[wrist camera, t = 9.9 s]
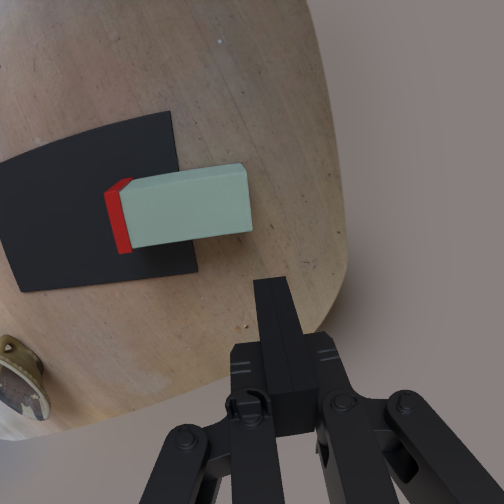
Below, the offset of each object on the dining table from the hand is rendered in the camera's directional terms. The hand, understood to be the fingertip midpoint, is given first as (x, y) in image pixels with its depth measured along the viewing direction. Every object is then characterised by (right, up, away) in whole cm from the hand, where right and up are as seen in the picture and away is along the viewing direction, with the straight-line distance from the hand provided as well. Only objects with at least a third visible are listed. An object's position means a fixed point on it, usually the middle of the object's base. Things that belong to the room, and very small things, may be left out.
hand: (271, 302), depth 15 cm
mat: (-24, +7, +20) cm, 32 cm away
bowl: (-44, -18, +30) cm, 57 cm away
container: (-2, +8, +18) cm, 20 cm away
